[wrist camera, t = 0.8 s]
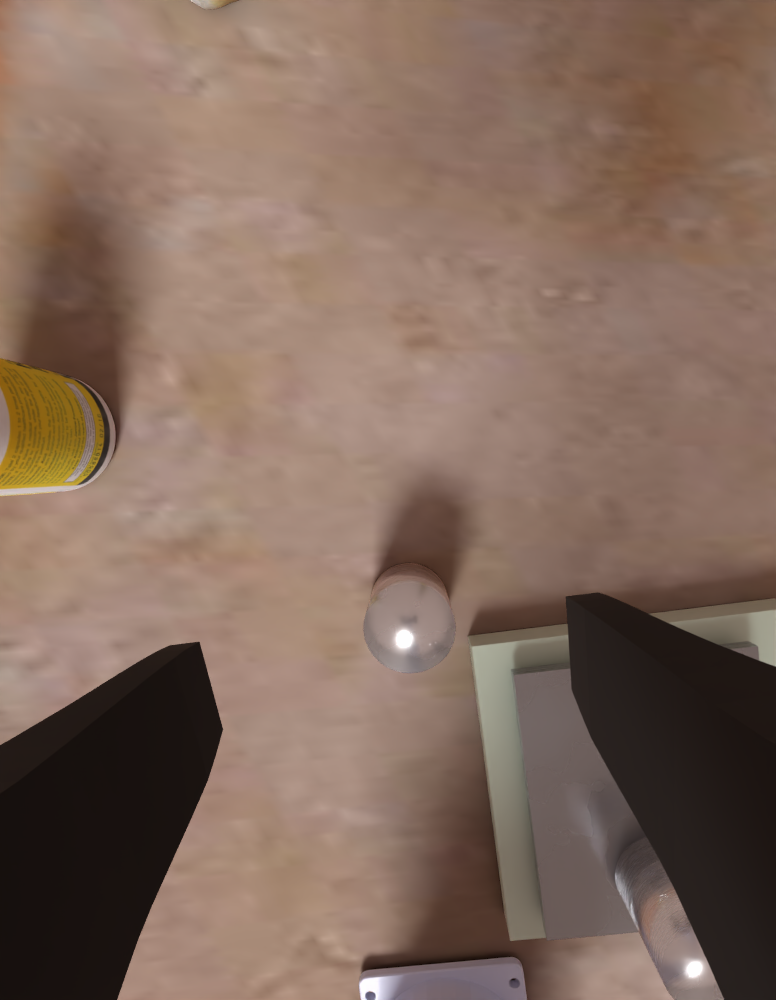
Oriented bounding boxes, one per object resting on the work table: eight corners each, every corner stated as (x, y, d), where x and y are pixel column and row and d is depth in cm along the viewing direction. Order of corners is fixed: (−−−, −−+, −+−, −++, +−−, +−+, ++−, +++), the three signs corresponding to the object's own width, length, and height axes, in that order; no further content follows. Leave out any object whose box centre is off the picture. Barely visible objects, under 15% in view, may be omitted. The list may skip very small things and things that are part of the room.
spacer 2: (704, 910, 22) (771, 1011, 18) (619, 918, 22) (666, 1020, 18) (696, 831, 21) (762, 915, 18) (610, 840, 22) (656, 925, 18)
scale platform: (757, 888, 23) (782, 918, 22) (537, 909, 24) (547, 940, 22) (733, 633, 22) (758, 646, 21) (506, 660, 23) (513, 675, 21)
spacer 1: (452, 633, 24) (461, 667, 20) (376, 642, 24) (370, 678, 20) (442, 558, 24) (449, 577, 20) (365, 568, 24) (357, 589, 20)
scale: (799, 885, 24) (829, 917, 22) (504, 914, 25) (511, 947, 23) (774, 598, 23) (803, 609, 21) (468, 635, 24) (472, 649, 22)
